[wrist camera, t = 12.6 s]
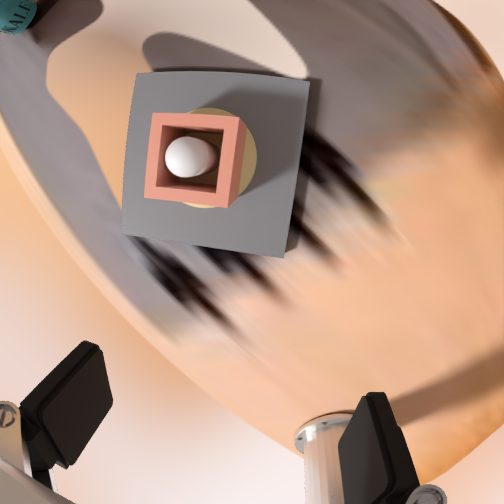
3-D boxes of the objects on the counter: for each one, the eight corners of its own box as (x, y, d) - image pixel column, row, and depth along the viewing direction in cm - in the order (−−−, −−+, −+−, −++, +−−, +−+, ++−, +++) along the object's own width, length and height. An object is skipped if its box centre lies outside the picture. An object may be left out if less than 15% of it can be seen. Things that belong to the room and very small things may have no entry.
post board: (308, 85, 25) (321, 53, 16) (283, 253, 31) (285, 292, 22) (142, 76, 26) (97, 53, 17) (127, 230, 31) (81, 256, 22)
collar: (247, 126, 25) (239, 117, 20) (237, 198, 27) (227, 208, 22) (177, 121, 26) (152, 112, 20) (169, 189, 28) (143, 197, 22)
